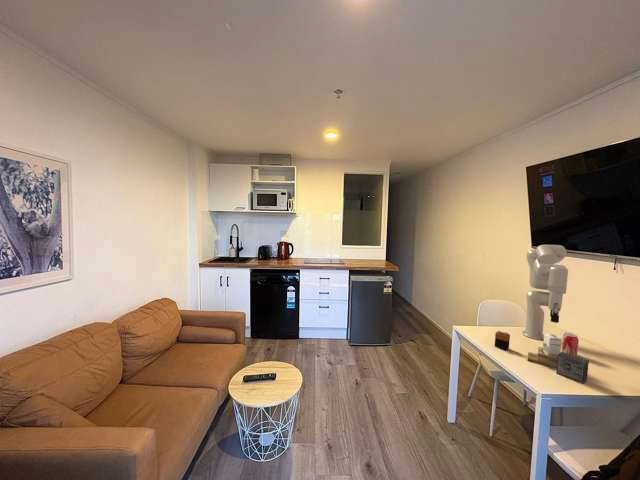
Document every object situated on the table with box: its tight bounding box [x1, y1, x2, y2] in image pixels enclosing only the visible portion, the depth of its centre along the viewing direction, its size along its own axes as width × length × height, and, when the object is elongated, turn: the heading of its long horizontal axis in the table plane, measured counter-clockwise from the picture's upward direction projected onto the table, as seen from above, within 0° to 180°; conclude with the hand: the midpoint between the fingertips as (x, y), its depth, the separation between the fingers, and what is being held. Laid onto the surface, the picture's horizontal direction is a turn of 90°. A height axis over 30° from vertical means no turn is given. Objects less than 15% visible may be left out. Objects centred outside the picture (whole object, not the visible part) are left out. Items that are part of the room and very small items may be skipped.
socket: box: [527, 346, 562, 370], centre depth 150 cm, size 11×20×6 cm, turn 51°
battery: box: [494, 330, 511, 351], centre depth 167 cm, size 4×7×10 cm, turn 42°
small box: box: [555, 351, 590, 384], centre depth 136 cm, size 11×6×10 cm, turn 33°
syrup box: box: [542, 333, 562, 357], centre depth 149 cm, size 6×6×14 cm
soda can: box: [561, 332, 580, 356], centre depth 161 cm, size 7×7×12 cm
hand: (554, 319), depth 148 cm, fingers open, 9 cm apart
